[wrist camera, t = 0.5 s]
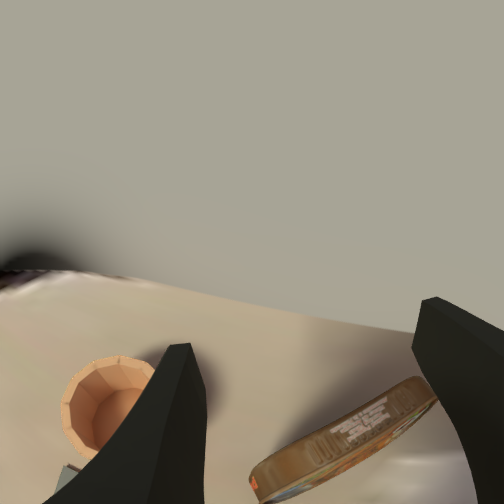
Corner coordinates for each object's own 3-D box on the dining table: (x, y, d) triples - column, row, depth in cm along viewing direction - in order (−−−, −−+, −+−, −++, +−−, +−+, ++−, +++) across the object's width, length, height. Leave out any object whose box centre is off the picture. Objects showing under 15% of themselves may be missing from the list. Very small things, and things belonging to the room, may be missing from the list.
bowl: (170, 490, 19) (153, 482, 16) (75, 454, 20) (45, 437, 17) (195, 396, 26) (186, 370, 22) (107, 373, 27) (87, 345, 23)
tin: (259, 511, 18) (264, 507, 12) (243, 478, 20) (240, 460, 14) (413, 426, 22) (461, 385, 17) (395, 401, 25) (437, 354, 19)
